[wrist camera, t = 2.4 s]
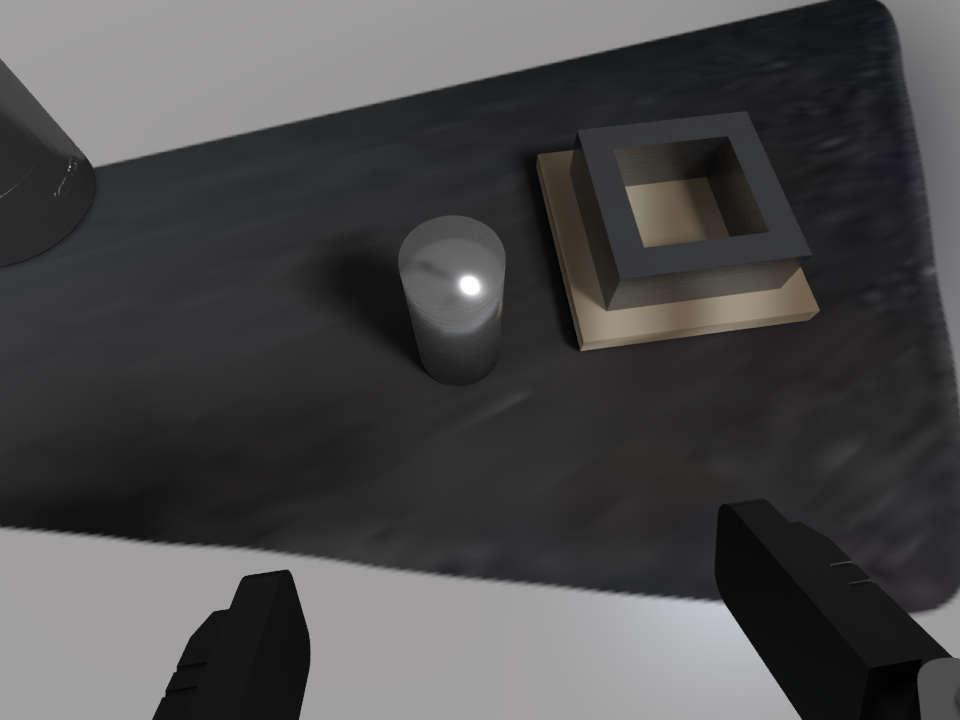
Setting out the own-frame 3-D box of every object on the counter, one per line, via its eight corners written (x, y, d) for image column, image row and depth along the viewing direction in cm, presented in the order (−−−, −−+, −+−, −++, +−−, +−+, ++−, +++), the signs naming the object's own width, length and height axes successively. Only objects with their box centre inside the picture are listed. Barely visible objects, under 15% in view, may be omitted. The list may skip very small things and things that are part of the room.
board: (580, 351, 28) (583, 342, 27) (536, 166, 33) (537, 154, 32) (809, 319, 29) (819, 310, 28) (733, 144, 34) (740, 131, 33)
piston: (424, 391, 27) (403, 312, 20) (415, 319, 29) (393, 221, 22) (505, 380, 28) (513, 298, 20) (492, 309, 29) (496, 210, 22)
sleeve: (606, 311, 28) (620, 279, 25) (569, 171, 32) (577, 130, 29) (780, 288, 29) (812, 254, 26) (723, 153, 32) (746, 111, 29)
